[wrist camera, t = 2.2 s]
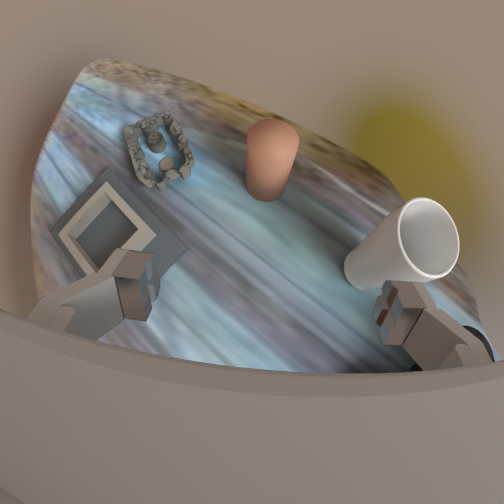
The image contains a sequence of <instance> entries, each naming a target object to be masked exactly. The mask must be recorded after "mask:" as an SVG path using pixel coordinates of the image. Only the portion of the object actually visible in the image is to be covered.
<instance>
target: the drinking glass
mask: <svg viewBox="0 0 504 504" xmlns="http://www.w3.org/2000/svg"><path fill="white" fill-rule="evenodd" d="M458 253H459V237H458V233H457V229H456V226H455V224H454V221H453V220H452V218H451V216H450V215H449V213H448V212H447V211H446V210H445V209H444V208H443V207H442V206H441V205H440V204H439V203H437V202H435V201H434V200H431V199H428V198H423V197H420V198H414V199H411V200H409V201H408V202H406V203H405V204H403V205H402V206H400V207H399V208H397V209H396V210H394V211H393V212H392V213H391V214H389V215H388V216H387V217H386V218H385V219H384V220H382V221H381V222H380V223H379V224H378V225H377V226H376V228H375V229H374V230H373V231H372V232H371V233H370V234H369V235H368V236H367V237H366V238H365V239H364V240H363V241H362V242H361V243H360V244H359V245H358V246H357V247H356V248H354V249H353V250H351V251H350V252H349V253H348V255H347V256H346V258H345V262H344V273H345V276H346V279H347V280H348V282H349V283H350V284H351V285H352V286H353V287H355V288H357V289H360V290H370V289H375V288H382V286H383V284H384V282H385V281H386V280H397V281H414V282H421V283H426V282H429V281H432V280H435V279H437V278H441V277H443V276H445V275H446V274H448V273H449V272H450V271H451V270H452V268H453V267H454V265H455V263H456V261H457V258H458Z"/></svg>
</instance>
